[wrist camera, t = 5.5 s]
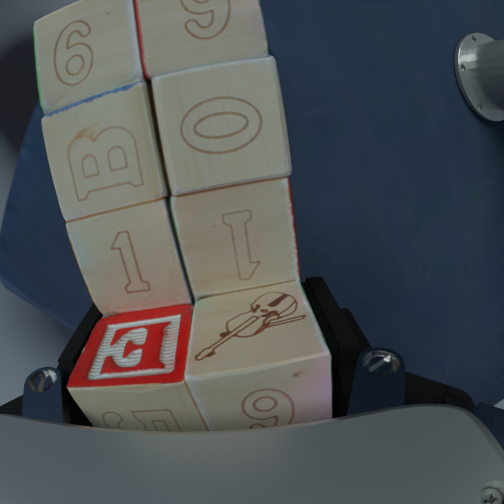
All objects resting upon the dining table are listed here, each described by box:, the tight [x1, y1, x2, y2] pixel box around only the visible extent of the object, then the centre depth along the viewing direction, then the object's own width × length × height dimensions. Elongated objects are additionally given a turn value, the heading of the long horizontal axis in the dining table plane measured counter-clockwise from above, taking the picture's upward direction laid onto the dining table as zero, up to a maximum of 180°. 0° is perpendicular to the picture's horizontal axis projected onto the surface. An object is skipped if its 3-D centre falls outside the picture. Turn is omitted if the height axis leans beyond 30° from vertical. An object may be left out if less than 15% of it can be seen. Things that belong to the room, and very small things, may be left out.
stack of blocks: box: [33, 0, 332, 432], centre depth 12 cm, size 21×6×12 cm, turn 9°
